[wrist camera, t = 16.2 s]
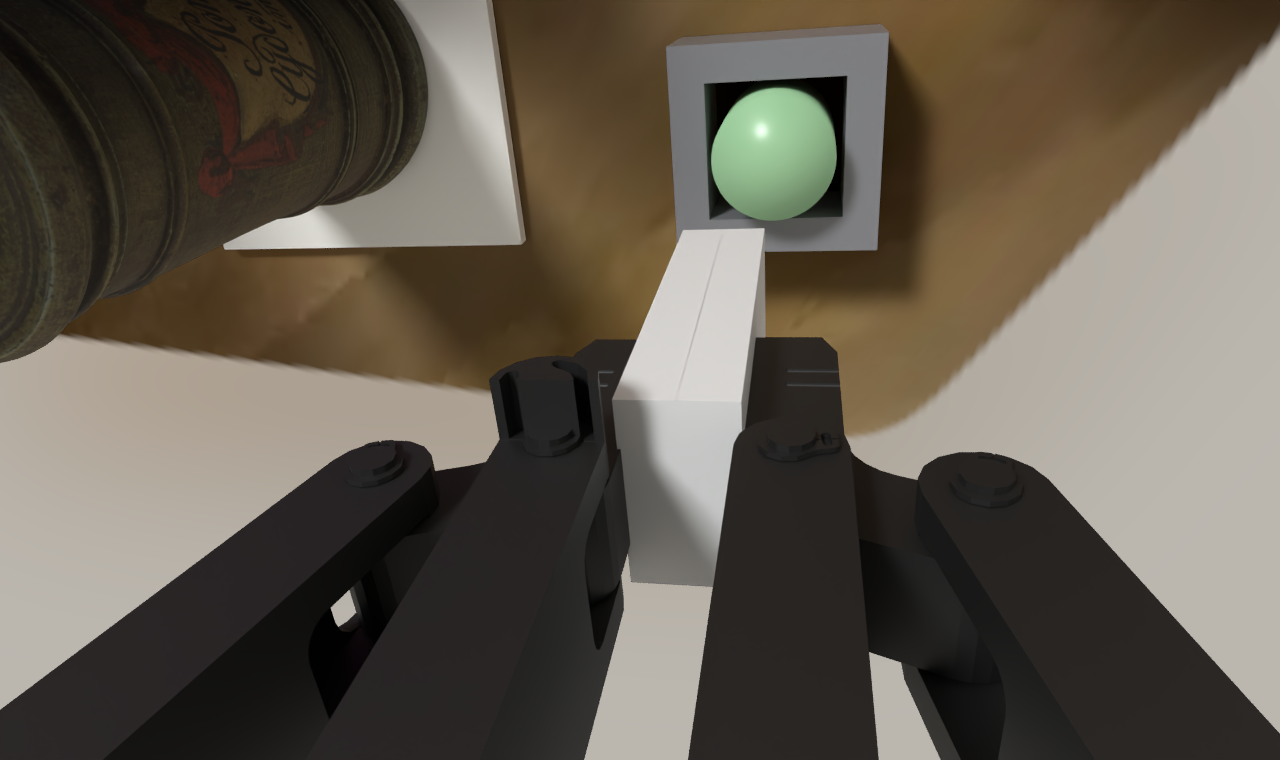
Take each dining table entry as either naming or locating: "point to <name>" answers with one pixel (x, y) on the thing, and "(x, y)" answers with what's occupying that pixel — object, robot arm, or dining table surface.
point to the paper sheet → (433, 153)
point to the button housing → (775, 56)
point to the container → (183, 135)
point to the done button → (775, 150)
